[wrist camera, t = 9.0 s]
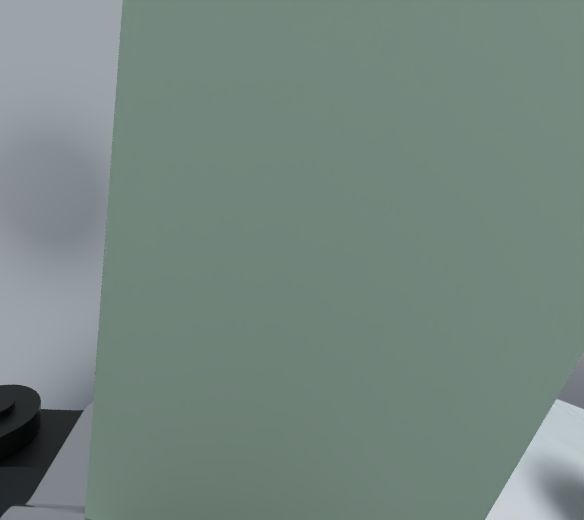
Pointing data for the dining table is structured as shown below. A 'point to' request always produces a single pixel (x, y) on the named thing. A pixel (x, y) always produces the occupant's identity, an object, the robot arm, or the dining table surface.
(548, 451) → the dining table surface
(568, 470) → the dining table surface
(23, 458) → the robot arm
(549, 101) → the tall sage green panel
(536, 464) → the dining table surface
